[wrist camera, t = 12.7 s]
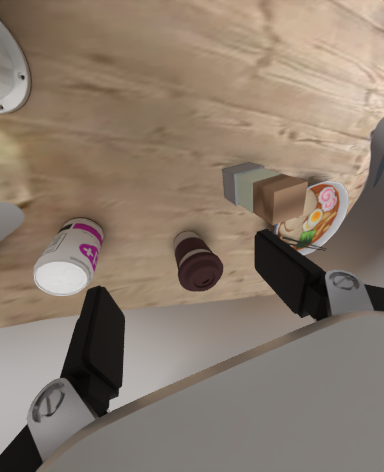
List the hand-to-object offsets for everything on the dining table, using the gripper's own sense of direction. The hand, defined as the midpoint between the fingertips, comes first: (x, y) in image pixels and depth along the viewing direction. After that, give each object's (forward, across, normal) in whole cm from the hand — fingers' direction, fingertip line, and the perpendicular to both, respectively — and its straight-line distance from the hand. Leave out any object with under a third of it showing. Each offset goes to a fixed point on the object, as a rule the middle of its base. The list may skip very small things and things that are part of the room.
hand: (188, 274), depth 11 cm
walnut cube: (+20, -20, +7) cm, 29 cm away
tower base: (+32, -20, +7) cm, 39 cm away
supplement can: (+32, +18, +9) cm, 38 cm away
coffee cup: (+32, -4, +20) cm, 38 cm away
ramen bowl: (+32, -38, +22) cm, 55 cm away
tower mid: (+26, -20, +7) cm, 34 cm away
